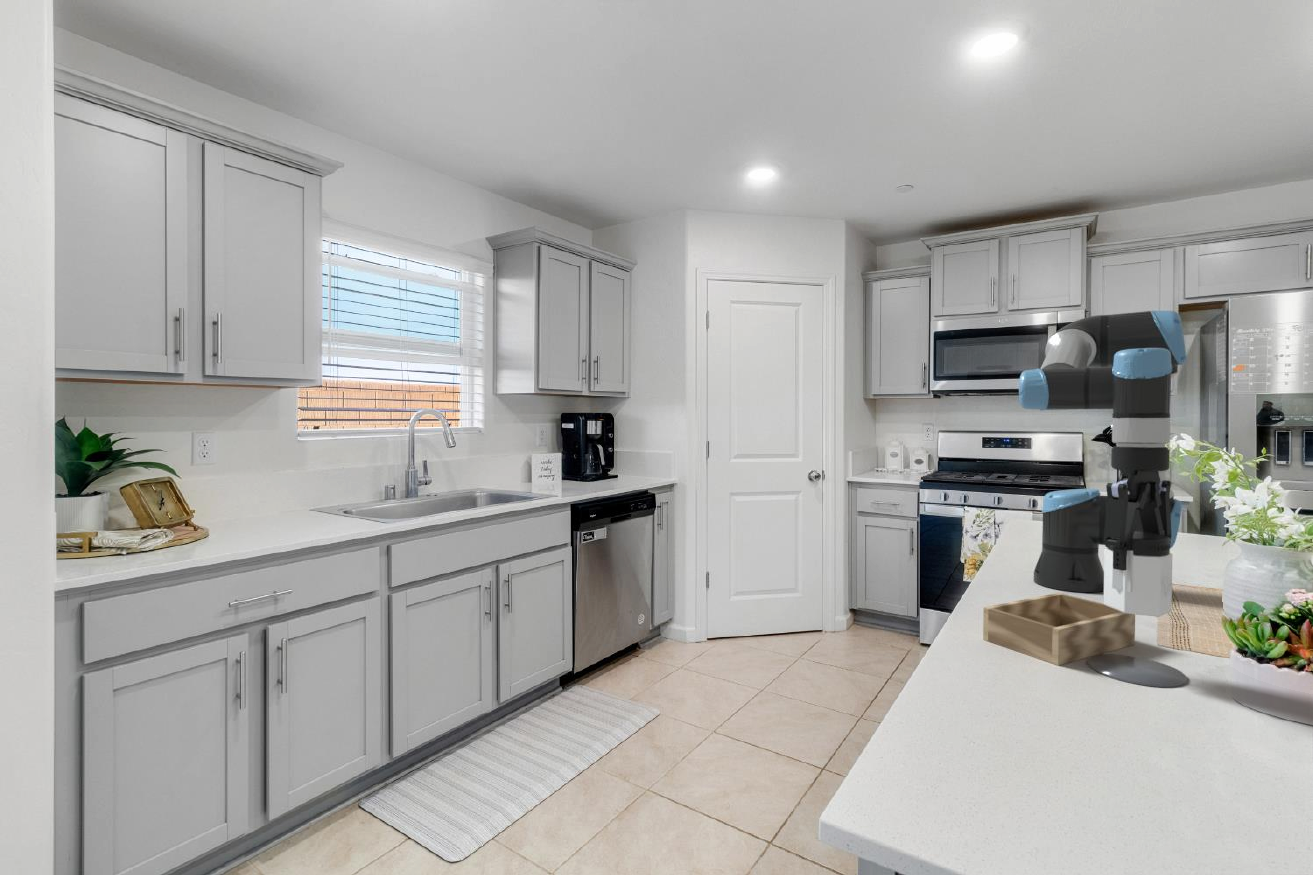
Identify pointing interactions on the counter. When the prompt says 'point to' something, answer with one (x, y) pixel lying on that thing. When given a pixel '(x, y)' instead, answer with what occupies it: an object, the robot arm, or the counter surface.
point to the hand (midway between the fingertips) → (1137, 586)
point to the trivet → (1137, 670)
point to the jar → (1142, 577)
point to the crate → (1078, 638)
